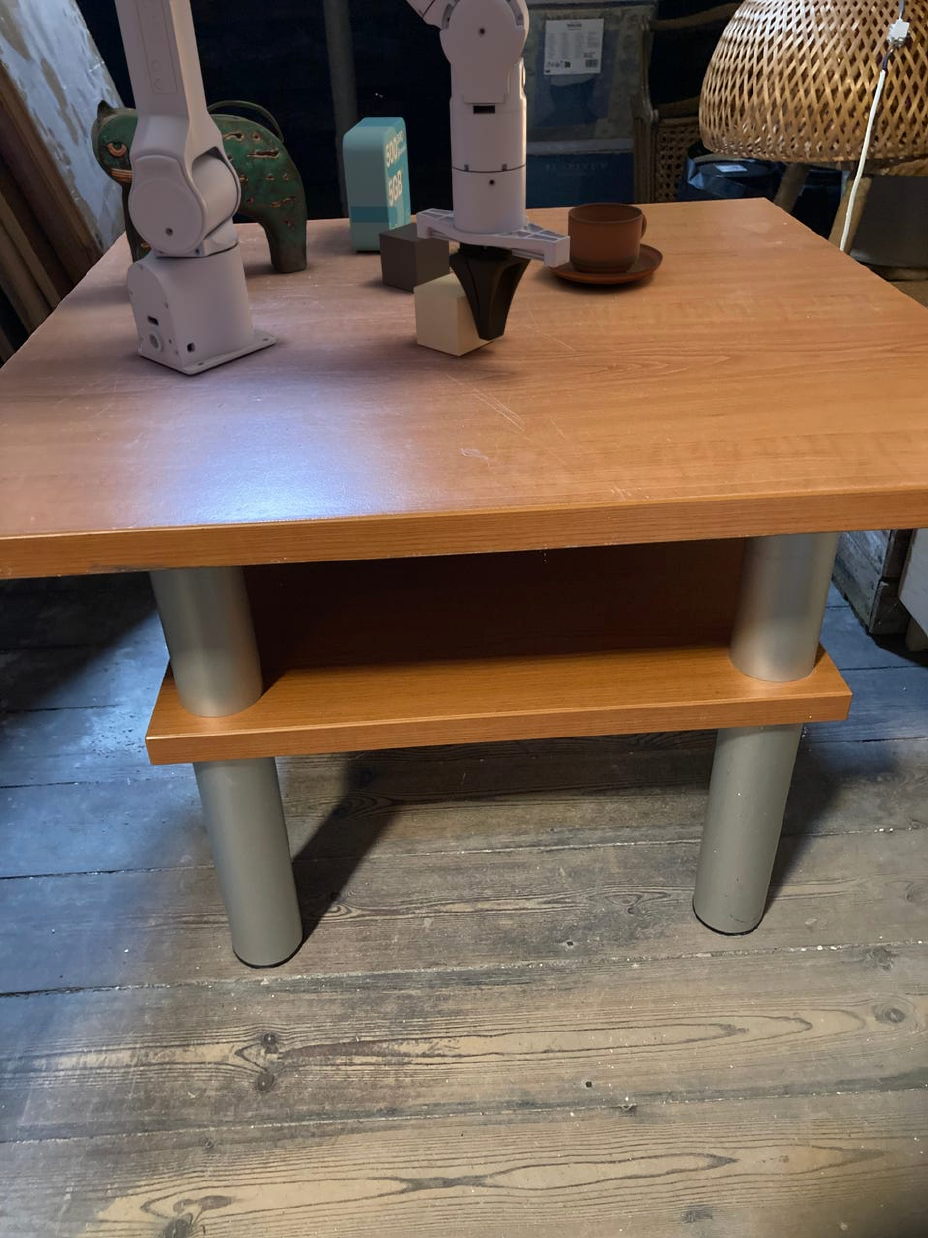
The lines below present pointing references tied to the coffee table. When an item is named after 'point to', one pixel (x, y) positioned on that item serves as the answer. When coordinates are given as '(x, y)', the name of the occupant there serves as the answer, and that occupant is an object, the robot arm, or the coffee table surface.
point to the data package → (376, 179)
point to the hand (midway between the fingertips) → (491, 336)
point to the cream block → (445, 317)
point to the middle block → (412, 257)
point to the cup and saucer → (607, 245)
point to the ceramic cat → (253, 155)
